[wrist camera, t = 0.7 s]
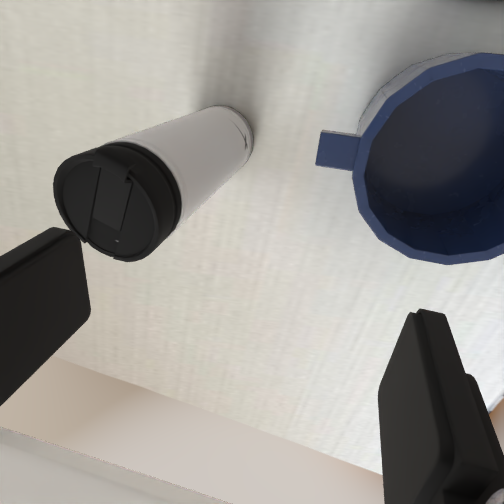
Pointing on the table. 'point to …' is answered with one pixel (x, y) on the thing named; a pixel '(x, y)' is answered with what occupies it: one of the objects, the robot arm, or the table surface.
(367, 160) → the pot
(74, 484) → the robot arm
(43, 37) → the table surface
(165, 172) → the travel mug
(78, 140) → the table surface
